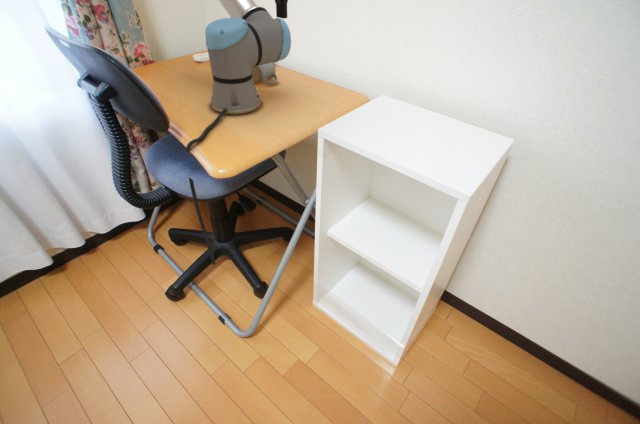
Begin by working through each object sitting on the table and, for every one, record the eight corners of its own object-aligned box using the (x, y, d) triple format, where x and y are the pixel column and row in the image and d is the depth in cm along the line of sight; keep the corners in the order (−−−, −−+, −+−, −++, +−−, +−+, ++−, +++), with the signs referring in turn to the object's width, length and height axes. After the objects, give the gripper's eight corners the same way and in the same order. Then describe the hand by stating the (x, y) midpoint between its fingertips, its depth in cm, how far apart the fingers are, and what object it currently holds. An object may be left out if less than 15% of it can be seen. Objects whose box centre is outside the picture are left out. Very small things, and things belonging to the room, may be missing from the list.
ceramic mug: (246, 81, 115) (244, 59, 110) (261, 75, 121) (259, 54, 115) (268, 88, 111) (267, 66, 106) (282, 82, 117) (282, 60, 112)
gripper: (271, -106, 65) (276, 22, 81) (308, -99, 73) (306, 16, 89) (245, -106, 68) (255, 18, 84) (284, -100, 76) (286, 12, 92)
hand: (281, 17), depth 86 cm, fingers closed
